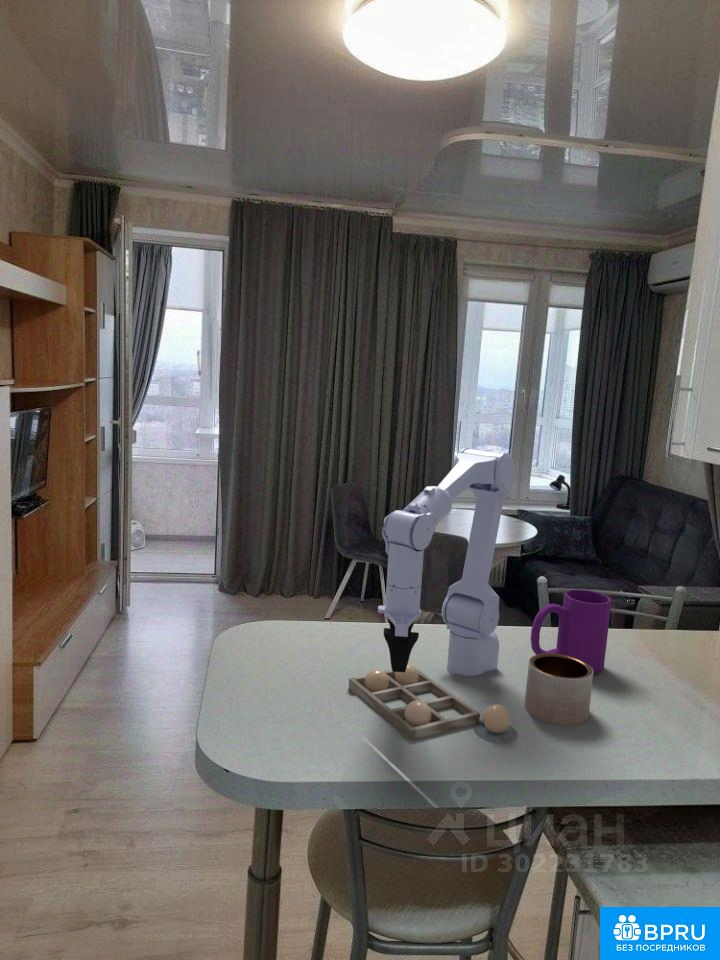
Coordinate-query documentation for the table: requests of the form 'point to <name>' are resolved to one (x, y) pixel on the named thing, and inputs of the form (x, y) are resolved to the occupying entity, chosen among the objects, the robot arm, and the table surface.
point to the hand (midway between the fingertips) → (398, 661)
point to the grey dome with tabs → (495, 734)
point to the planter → (558, 689)
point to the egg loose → (496, 718)
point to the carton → (408, 695)
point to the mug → (578, 627)
